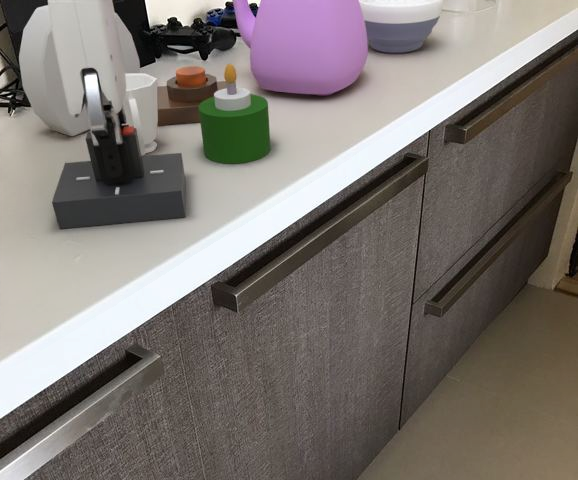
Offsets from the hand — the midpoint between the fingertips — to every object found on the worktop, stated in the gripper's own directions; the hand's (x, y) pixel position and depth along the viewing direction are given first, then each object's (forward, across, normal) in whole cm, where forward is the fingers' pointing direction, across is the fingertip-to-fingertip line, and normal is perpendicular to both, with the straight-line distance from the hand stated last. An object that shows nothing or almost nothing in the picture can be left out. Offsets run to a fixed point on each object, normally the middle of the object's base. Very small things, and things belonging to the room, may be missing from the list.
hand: (119, 170), depth 70 cm
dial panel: (+4, 0, 0) cm, 4 cm away
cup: (+4, -14, +1) cm, 15 cm away
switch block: (+4, -28, +8) cm, 29 cm away
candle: (+4, -12, +13) cm, 18 cm away
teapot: (+4, -36, +25) cm, 44 cm away
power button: (0, -28, +8) cm, 29 cm away
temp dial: (+1, 0, 0) cm, 1 cm away
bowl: (+4, -52, +43) cm, 68 cm away
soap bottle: (+4, -27, -6) cm, 28 cm away
